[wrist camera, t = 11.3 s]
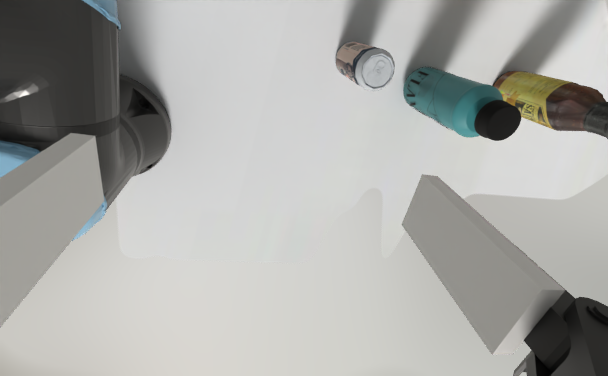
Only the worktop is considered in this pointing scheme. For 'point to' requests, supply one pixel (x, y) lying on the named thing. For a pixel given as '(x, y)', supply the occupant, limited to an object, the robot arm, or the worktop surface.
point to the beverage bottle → (461, 104)
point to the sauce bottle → (555, 102)
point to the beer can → (365, 65)
